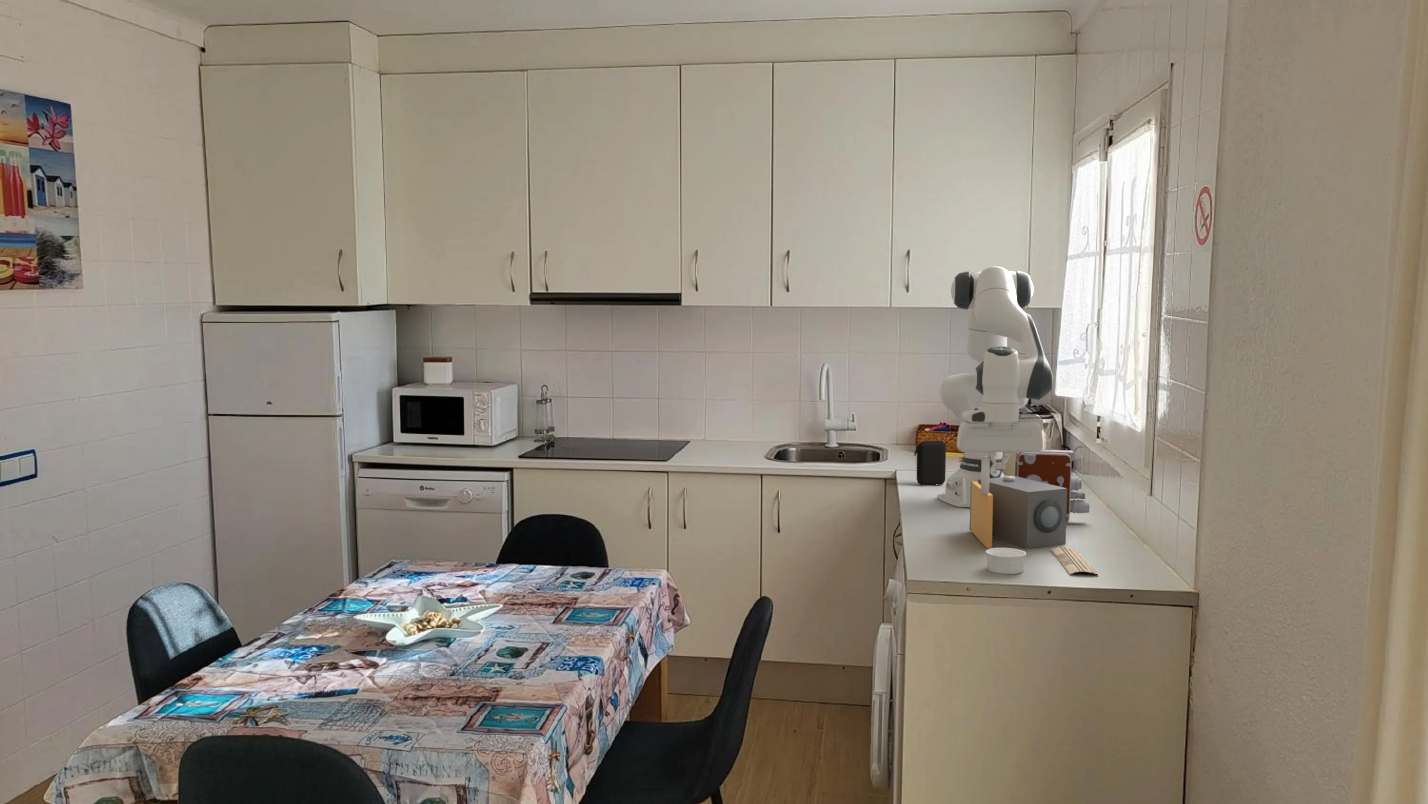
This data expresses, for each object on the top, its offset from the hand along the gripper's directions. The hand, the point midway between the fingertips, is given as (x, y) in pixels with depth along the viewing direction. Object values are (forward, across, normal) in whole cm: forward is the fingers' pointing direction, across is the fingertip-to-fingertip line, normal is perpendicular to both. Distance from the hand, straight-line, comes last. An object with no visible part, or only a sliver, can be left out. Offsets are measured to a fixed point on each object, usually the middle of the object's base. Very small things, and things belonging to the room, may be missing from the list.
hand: (998, 470), depth 262 cm
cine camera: (+19, -21, -30) cm, 42 cm away
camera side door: (+19, +3, -8) cm, 20 cm away
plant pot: (+19, -23, -91) cm, 96 cm away
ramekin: (+20, +3, +22) cm, 30 cm away
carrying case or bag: (+19, +3, -87) cm, 89 cm away
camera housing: (+19, -8, -11) cm, 24 cm away
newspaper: (+20, -14, +15) cm, 29 cm away
